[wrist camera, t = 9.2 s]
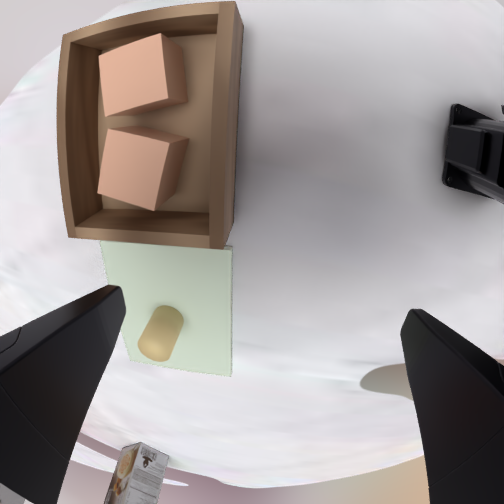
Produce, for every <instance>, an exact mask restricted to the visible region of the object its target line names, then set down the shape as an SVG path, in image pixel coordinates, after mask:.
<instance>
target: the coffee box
mask: <svg viewBox="0 0 504 504" xmlns="http://www.w3.org/2000/svg"><path fill="white" fill-rule="evenodd" d="M168 458H169V456H168V455H165V454H163V453H161V452H159V451H157V450H155V449H153V448H151V447H149V446H147V445H145V444H143V443H141V442H140V443H137V444H134V445H131V446H128V447H125V448H122V451H121V454H120V457H119V460H118V462H117V465H116V468H115V471H114V474H113V477H112V480H111V483H110V486H109V489H108V492H107V495H106V498H105V501H104V504H157V502H158V498H159V494H160V490H161V485H162V482H163V478H164V473H165V470H166V466H167V462H168Z"/></svg>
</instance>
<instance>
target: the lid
mask: <svg viewBox="0 0 504 504" xmlns="http://www.w3.org/2000/svg"><path fill="white" fill-rule="evenodd" d="M100 246H101V251H102V256H103V261H104V266H105V271H106V275H107V280H108V284H109V285H116V286H120V287H121V288H122V291H123V295H124V300H125V305H126V315H125V318H124V321H123V323H122V326H121V329H120V330H121V333H122V336H123V339H124V343H125V346H126V349H127V352H128V355H129V358H130V361H135V362H139V363H144V364H149V365H154V366H160V367H165V368H171V369H177V370H183V371H189V372H196V373H203V374H211V375H219V376H228V377H231V373H232V246H225V247H224V250H219V249H206V248H194V247H181V246H169V245H156V244H143V243H131V242H118V241H106V240H100Z"/></svg>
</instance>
